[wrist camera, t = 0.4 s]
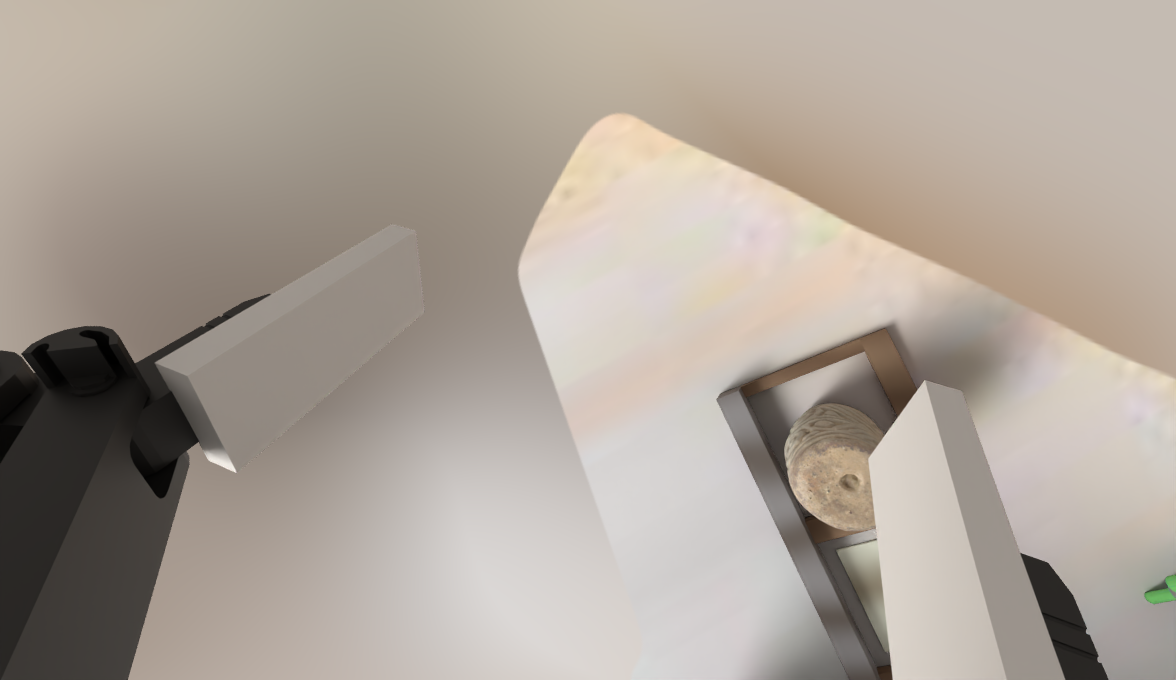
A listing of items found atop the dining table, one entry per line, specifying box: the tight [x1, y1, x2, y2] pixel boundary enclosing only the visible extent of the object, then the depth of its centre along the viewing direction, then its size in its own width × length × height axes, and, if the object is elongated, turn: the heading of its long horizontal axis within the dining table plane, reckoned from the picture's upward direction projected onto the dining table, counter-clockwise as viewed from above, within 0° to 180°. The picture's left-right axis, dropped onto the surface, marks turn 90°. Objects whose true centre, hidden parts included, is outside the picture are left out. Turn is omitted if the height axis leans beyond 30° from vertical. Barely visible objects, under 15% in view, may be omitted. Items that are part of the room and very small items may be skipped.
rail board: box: [716, 328, 917, 680], centre depth 40 cm, size 27×14×2 cm, turn 27°
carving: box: [784, 403, 885, 531], centre depth 36 cm, size 6×8×12 cm
